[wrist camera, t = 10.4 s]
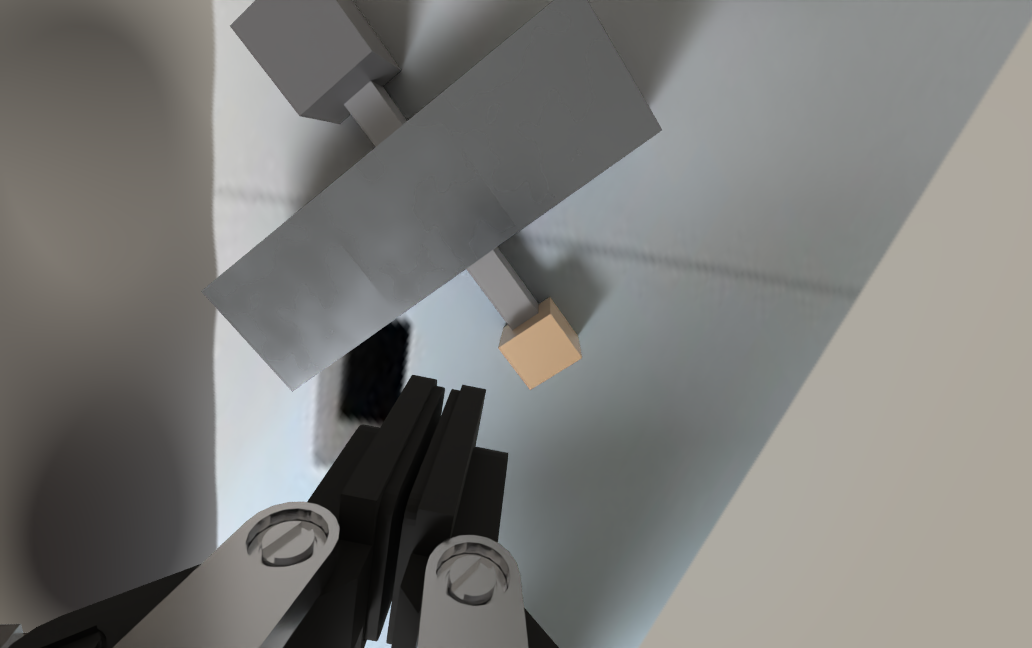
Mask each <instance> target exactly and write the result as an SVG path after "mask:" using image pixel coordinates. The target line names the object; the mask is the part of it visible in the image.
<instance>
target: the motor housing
mask: <svg viewBox="0 0 1032 648" xmlns="http://www.w3.org/2000/svg"><path fill="white" fill-rule="evenodd" d="M660 131H662V129H661V127H660V125H659V123H658V122H657V120H656V118H655V116H654V115H653V113H652V111H651V109H650V108H649V106H648V104H647V103H646V101H645V99H644V97H643V96H642V94H641V92H640V90H639V89H638V87H637V85H636V84H635V82H634V80H633V78H632V77H631V75H630V73H629V71H628V70H627V68H626V66H625V64H624V63H623V61H622V59H621V58H620V56H619V54H618V52H617V51H616V49H615V47H614V45H613V44H612V42H611V40H610V39H609V37H608V35H607V33H606V32H605V30H604V28H603V26H602V25H601V23H600V21H599V19H598V18H597V16H596V14H595V13H594V11H593V9H592V7H591V6H590V4H589V2H588V0H553V1H552V2H551V3H550V4H549V5H547V6H546V7H545V8H544V9H542V10H541V11H540V12H539V13H538V14H536V15H535V16H534V17H533V18H532V19H530V20H529V21H528V22H527V23H526V24H524V25H523V26H522V27H521V28H519V29H518V30H517V31H516V32H515V33H513V34H512V35H511V36H510V37H509V38H507V39H506V40H505V41H504V42H503V43H501V44H500V45H499V46H498V47H496V48H495V49H494V50H493V51H492V52H490V53H489V54H488V55H487V56H486V57H484V58H483V59H482V60H481V61H479V62H478V63H477V64H476V65H475V66H473V67H472V68H471V69H470V70H469V71H467V72H466V73H465V74H464V75H463V76H461V77H460V78H459V79H458V80H456V81H455V82H454V83H453V84H452V85H450V86H449V87H448V88H447V89H446V90H444V91H443V92H442V93H441V94H440V95H438V96H437V97H436V98H435V99H433V100H432V101H431V102H430V103H429V104H427V105H426V106H425V107H424V108H423V109H421V110H420V111H419V112H418V113H416V114H415V115H414V116H413V117H412V118H410V119H409V120H408V121H407V122H406V123H404V124H403V125H402V126H401V127H400V128H398V129H397V130H396V131H395V132H393V133H392V134H391V135H390V136H389V137H387V138H386V139H385V140H384V141H383V142H381V143H380V144H379V145H378V146H377V147H375V148H374V149H373V150H372V151H370V152H369V153H368V154H367V155H366V156H364V157H363V158H362V159H361V160H360V161H358V162H357V163H356V164H355V165H353V166H352V167H351V168H350V169H349V170H347V171H346V172H345V173H344V174H343V175H341V176H340V177H339V178H338V179H337V180H335V181H334V182H333V183H332V184H330V185H329V186H328V187H327V188H326V189H324V190H323V191H322V192H321V193H320V194H318V195H317V196H316V197H315V198H314V199H312V200H311V201H310V202H309V203H307V204H306V205H305V206H304V207H303V208H301V209H300V210H299V211H298V212H297V213H295V214H294V215H293V216H292V217H290V218H289V219H288V220H287V221H286V222H284V223H283V224H282V225H281V226H280V227H278V228H277V229H276V230H275V231H274V232H272V233H271V234H270V235H269V236H267V237H266V238H265V239H264V240H263V241H261V242H260V243H259V244H258V245H257V246H255V247H254V248H253V249H252V250H251V251H249V252H248V253H247V254H246V255H244V256H243V257H242V258H241V259H240V260H238V261H237V262H236V263H235V264H234V265H232V266H231V267H230V268H229V269H228V270H226V271H225V272H224V273H223V274H221V275H220V276H219V277H218V278H217V279H215V280H214V281H213V282H212V283H211V284H209V285H208V286H207V287H206V288H204V289H203V290H202V291H201V292H202V293H203V294H204V295H205V296H206V297H207V298H208V299H209V300H210V302H211V303H212V304H213V305H214V306H215V307H216V308H217V309H218V310H219V311H220V313H221V314H222V315H223V316H224V317H225V318H226V319H227V320H228V321H229V322H230V324H231V325H232V326H233V327H234V328H235V329H236V330H237V331H238V332H239V333H240V335H241V336H242V337H243V338H244V339H245V340H246V341H247V342H248V343H249V344H250V346H251V347H252V348H253V349H254V350H255V351H256V352H257V353H258V354H259V355H260V357H261V358H262V359H263V360H264V361H265V362H266V363H267V364H268V365H269V366H270V368H271V369H272V370H273V371H274V372H275V373H276V374H277V375H278V376H279V378H280V379H281V380H282V381H283V382H284V383H285V384H286V385H287V386H288V387H289V389H290V390H291V391H292V392H293V391H294V390H295V389H297V388H298V387H300V386H301V385H302V384H304V383H305V382H307V381H308V380H310V379H311V378H312V377H314V376H315V375H317V374H318V373H319V372H321V371H322V370H324V369H325V368H327V367H328V366H329V365H331V364H332V363H334V362H335V361H336V360H338V359H339V358H341V357H342V356H343V355H345V354H346V353H348V352H349V351H351V350H352V349H353V348H355V347H356V346H358V345H359V344H360V343H362V342H363V341H365V340H366V339H368V338H369V337H370V336H372V335H373V334H375V333H376V332H377V331H379V330H380V329H382V328H383V327H384V326H386V325H387V324H389V323H390V322H392V321H393V320H394V319H396V318H397V317H399V316H400V315H401V314H403V313H404V312H406V311H407V310H409V309H410V308H411V307H413V306H414V305H416V304H417V303H418V302H420V301H421V300H423V299H424V298H425V297H427V296H428V295H430V294H431V293H433V292H434V291H435V290H437V289H438V288H440V287H441V286H442V285H444V284H445V283H447V282H448V281H450V280H451V279H452V278H454V277H455V276H457V275H458V274H459V273H461V272H462V271H464V270H465V269H466V268H468V267H469V266H471V265H472V264H474V263H475V262H476V261H478V260H479V259H481V258H482V257H483V256H485V255H486V254H488V253H489V252H491V251H492V250H493V249H495V248H496V247H498V246H499V245H500V244H502V243H503V242H505V241H506V240H507V239H509V238H510V237H512V236H513V235H515V234H516V233H517V232H519V231H520V230H522V229H523V228H524V227H526V226H527V225H529V224H530V223H531V222H533V221H534V220H536V219H537V218H539V217H540V216H541V215H543V214H544V213H546V212H547V211H548V210H550V209H551V208H553V207H554V206H556V205H557V204H558V203H560V202H561V201H563V200H564V199H565V198H567V197H568V196H570V195H571V194H572V193H574V192H575V191H577V190H578V189H580V188H581V187H582V186H584V185H585V184H587V183H588V182H589V181H591V180H592V179H594V178H595V177H597V176H598V175H599V174H601V173H602V172H604V171H605V170H606V169H608V168H609V167H611V166H612V165H613V164H615V163H616V162H618V161H619V160H621V159H622V158H623V157H625V156H626V155H628V154H629V153H630V152H632V151H633V150H635V149H636V148H638V147H639V146H640V145H642V144H643V143H645V142H646V141H647V140H649V139H650V138H652V137H653V136H654V135H656V134H657V133H659V132H660Z"/></svg>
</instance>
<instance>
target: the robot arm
mask: <svg viewBox="0 0 1032 648" xmlns="http://www.w3.org/2000/svg"><path fill="white" fill-rule="evenodd" d="M444 393H445V388H444V387H439V386H437V380H436V379H431V378H426V377H421V376H416V375H412V376H411V378H410V379H409V381H408V383H407V384H406V386H405V388H404V389H403V391H402V393H401V394H400V396H399V398H398V399H397V401H396V403H395V404H394V406H393V408H392V409H391V411H390V413H389V414H388V416H387V418H386V419H385V421H384V423H383V424H382V426H381V428H379V427H374V426H368V425H360V426H359V427H358V429H357V430H356V431H355V433H354V434H353V436H352V437H351V439H350V440H349V442H348V443H347V444H346V446H345V447H344V449H343V450H342V452H341V453H340V455H339V456H338V458H337V459H336V461H335V462H334V463H333V465H332V466H331V468H330V469H329V471H328V472H327V474H326V475H325V477H324V478H323V480H322V481H321V483H320V484H319V485H318V487H317V488H316V490H315V491H314V493H313V494H312V496H311V497H310V499H309V500H308V502H287V503H283V504H279V505H274V506H272V507H269V508H267V509H265V510H263V511H260V512H258V513H257V514H256V515H254V516H253V517H252V518H250V519H249V520H248V521H246V522H245V523H244V524H243V525H242V526H241V527H240V528H239V529H238V530H237V531H236V532H235V533H234V534H232V535H231V536H230V537H229V538H228V539H227V540H226V541H225V542H224V543H223V544H222V545H221V546H220V547H219V548H218V549H217V550H216V551H214V552H213V553H212V554H211V555H210V556H209V557H208V558H207V559H206V560H205V561H204V562H203V563H202V564H200V565H197V566H194V567H192V568H189V569H186V570H184V571H181V572H178V573H175V574H173V575H170V576H167V577H165V578H162V579H159V580H157V581H154V582H151V583H148V584H146V585H143V586H141V587H138V588H135V589H132V590H130V591H127V592H124V593H122V594H119V595H116V596H113V597H111V598H108V599H105V600H103V601H100V602H97V603H95V604H92V605H89V606H87V607H84V608H82V609H79V610H76V611H73V612H71V613H68V614H65V615H62V616H60V617H58V618H56V619H54V620H51V621H49V622H47V623H45V624H43V625H40V626H38V627H36V628H35V629H33V630H32V631H30V632H29V633H23V632H22V627H21V624H0V648H364V646H365V644H366V641H367V640H372V641H378V639H379V636H380V634H381V631H382V628H383V625H384V622H385V619H386V616H387V613H388V611H389V608H390V605H391V602H392V605H391V612H390V619H389V626H388V634H387V643H388V644H392V646H391V648H559V647H558V646H557V645H556V644H555V643H554V642H553V640H552V639H551V638H550V637H549V636H548V635H547V634H546V632H545V631H544V630H543V629H542V628H541V627H540V625H539V624H538V623H537V622H536V621H535V620H534V618H533V617H532V616H531V615H530V614H529V613H528V612H527V610H526V609H525V608H524V603H523V595H522V586H521V577H520V572H519V569H518V565H517V562H516V561H515V559H514V558H513V557H512V555H511V554H510V552H509V551H508V550H506V549H505V548H504V547H503V546H502V545H500V544H499V543H498V535H499V527H500V519H501V511H502V503H503V495H504V486H505V478H506V470H507V462H508V453H505V452H500V451H495V450H490V449H485V448H480V447H475V446H476V440H477V435H478V430H479V425H480V420H481V414H482V409H483V404H484V399H485V393H486V389H481V388H476V387H471V386H466V385H462V387H461V390H460V391H459V390H454V389H452V390H451V392H450V395H449V397H448V400H447V402H446V405H445V407H444V410H443V412H442V406H443V399H444ZM441 412H442V415H441Z"/></svg>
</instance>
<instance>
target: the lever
mask: <svg viewBox="0 0 1032 648" xmlns="http://www.w3.org/2000/svg"><path fill="white" fill-rule="evenodd" d="M230 27H231V28H232V29H233V31H234V32H235V33H236V34H237V36H238V37H239V38H240V40H241V41H242V42H243V43H244V45H245V46H246V47H247V49H248V50H249V51H250V53H251V54H252V55H253V56H254V58H255V59H256V60H257V62H258V63H259V64H260V65H261V67H262V68H263V69H264V71H265V72H266V73H267V74H268V76H269V77H270V78H271V80H272V81H273V82H274V83H275V85H276V86H277V87H278V89H279V90H280V91H281V93H282V94H283V95H284V96H285V98H286V99H287V100H288V102H289V103H290V104H291V105H292V107H293V108H294V109H295V111H296V112H297V113H298V114H299V116H302V117H307V118H312V119H317V120H322V121H327V122H332V123H337V124H340V123H341V122H342V121H344V120H345V119H346V118H347V117H348V116H349V115H350V114H351V115H352V116H353V118H354V119H355V120H356V122H357V123H358V124H359V126H360V127H361V128H362V130H363V131H364V132H365V134H366V135H367V136H368V138H369V139H370V140H371V142H372V143H373V144H374V146H375V147H377V146H378V145H379V144H380V143H381V142H383V141H384V140H385V139H386V138H387V137H389V136H390V135H391V134H392V133H393V132H395V131H396V130H397V129H398V128H400V127H401V126H402V125H403V124H404V123H406V122H407V120H406V119H405V117H404V116H403V114H402V113H401V112H400V110H399V109H398V107H397V106H396V105H395V103H394V102H393V100H392V99H391V98H390V96H389V95H388V94H387V92H386V91H385V89H384V88H383V86H384V85H385V84H386V83H387V82H388V81H390V80H391V79H392V78H393V77H394V76H395V75H397V74H398V73H399V72H400V71H401V69H400V68H399V66H398V65H397V63H396V62H395V61H394V59H393V58H392V56H391V55H390V53H389V52H388V51H387V49H386V48H385V46H384V45H383V44H382V42H381V41H380V39H379V38H378V36H377V35H376V34H375V32H374V31H373V29H372V28H371V26H370V25H369V24H368V22H367V21H366V19H365V18H364V16H363V15H362V14H361V12H360V11H359V9H358V8H357V6H356V5H355V4H354V2H353V1H352V0H255V1H254V2H253V3H252V4H251V5H250V6H249V7H248V8H247V9H246V10H245V11H244V12H243V13H242V14H241V15H240V16H239V17H238V18H237V19H236V20H235V21H234V22H233V23H232V24H231V25H230ZM466 269H467V270H468V272H469V273H470V274H471V276H472V277H473V278H474V280H475V281H476V282H477V284H478V285H479V286H480V288H481V289H482V291H483V292H484V293H485V295H486V296H487V297H488V299H489V300H490V301H491V303H492V304H493V305H494V307H495V308H496V309H497V311H498V312H499V313H500V315H501V316H502V317H503V319H504V320H505V321H506V323H507V324H508V325H507V326H505V327H504V328H503V331H502V335H501V339H500V343H499V347H498V348H499V350H500V351H501V352H502V354H503V355H504V356H505V358H506V359H507V360H508V362H509V363H510V364H511V365H512V367H513V368H514V369H515V371H516V372H517V373H518V375H519V376H520V377H521V379H522V380H523V381H524V383H525V384H526V385H527V386H528V388H529V389H530V390H531V389H533V388H534V387H536V386H537V385H539V384H541V383H542V382H544V381H546V380H547V379H549V378H550V377H552V376H554V375H555V374H557V373H559V372H560V371H562V370H563V369H565V368H567V367H568V366H570V365H572V364H573V363H575V362H576V361H578V360H580V359H581V358H582V354H581V349H580V344H579V339H578V336H577V334H576V333H575V331H574V330H573V329H572V327H571V326H570V324H569V323H568V321H567V320H566V319H565V317H564V316H563V314H562V313H561V312H560V310H559V309H558V307H557V306H556V305H555V303H554V302H553V300H552V299H551V297H549V298H547V299H546V300H544V301H543V302H541V303H540V304H538V302H537V301H536V300H535V298H534V297H533V295H532V294H531V293H530V291H529V290H528V288H527V287H526V286H525V284H524V283H523V281H522V280H521V279H520V277H519V276H518V275H517V273H516V272H515V270H514V269H513V268H512V266H511V265H510V263H509V262H508V261H507V259H506V258H505V256H504V255H503V254H502V252H501V251H500V249H499V248H498V247H496V248H495V249H493V250H492V251H491V252H489V253H488V254H486V255H485V256H483V257H482V258H481V259H479V260H478V261H476V262H475V263H474V264H472V265H471V266H469V267H468V268H466Z"/></svg>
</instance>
